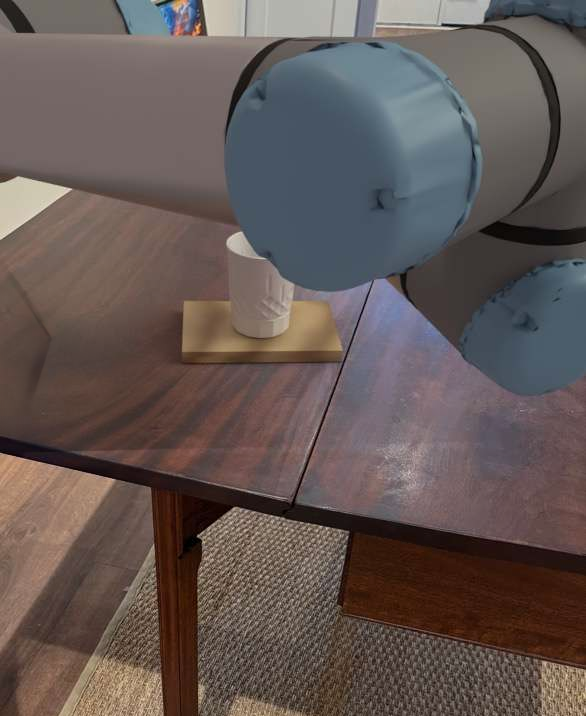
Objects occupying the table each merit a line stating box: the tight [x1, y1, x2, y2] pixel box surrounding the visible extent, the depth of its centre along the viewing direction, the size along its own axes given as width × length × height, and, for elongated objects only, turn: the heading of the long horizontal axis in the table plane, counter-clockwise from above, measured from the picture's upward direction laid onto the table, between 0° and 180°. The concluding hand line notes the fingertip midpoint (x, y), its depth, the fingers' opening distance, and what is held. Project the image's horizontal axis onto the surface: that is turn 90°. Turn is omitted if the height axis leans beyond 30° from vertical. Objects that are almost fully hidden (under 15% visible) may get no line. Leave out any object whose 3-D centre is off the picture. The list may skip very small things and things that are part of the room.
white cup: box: [225, 230, 295, 338], centre depth 80 cm, size 8×8×10 cm
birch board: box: [181, 300, 344, 364], centre depth 84 cm, size 18×12×2 cm, turn 96°
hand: (302, 138), depth 62 cm, fingers open, 13 cm apart
